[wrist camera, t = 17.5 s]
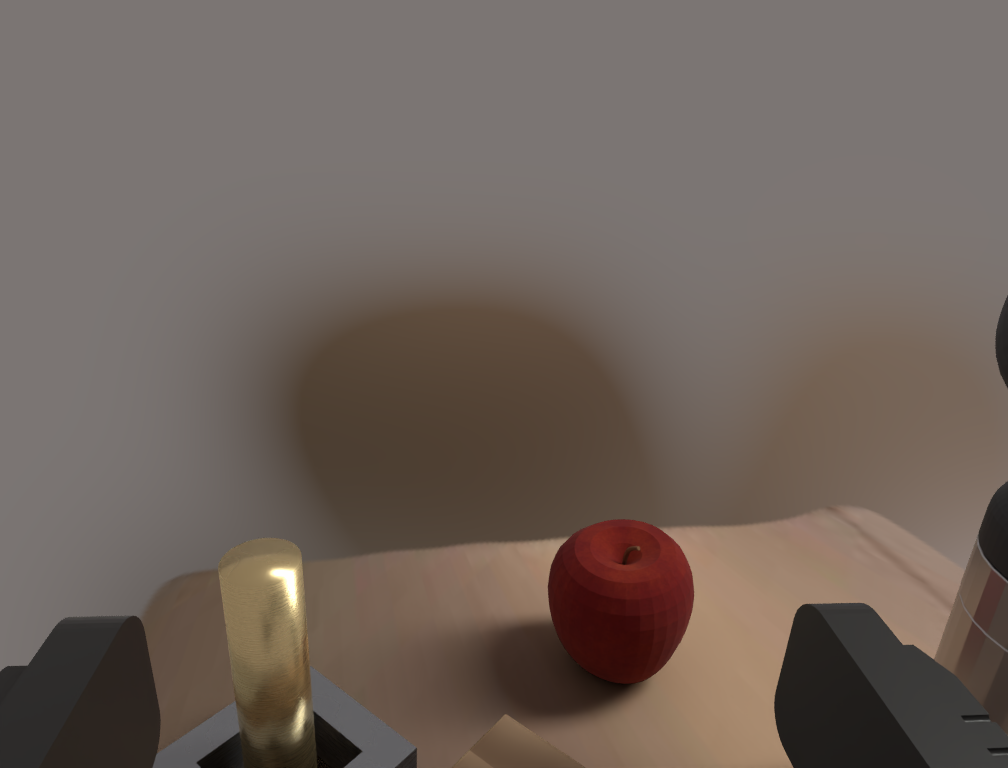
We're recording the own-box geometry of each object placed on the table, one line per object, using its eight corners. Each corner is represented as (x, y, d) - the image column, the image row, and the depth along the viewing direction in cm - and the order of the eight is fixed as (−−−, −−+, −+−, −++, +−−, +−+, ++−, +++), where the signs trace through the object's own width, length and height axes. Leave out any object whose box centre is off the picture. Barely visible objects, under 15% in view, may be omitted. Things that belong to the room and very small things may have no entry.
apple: (514, 663, 49) (522, 540, 46) (591, 595, 56) (603, 483, 52) (636, 741, 44) (657, 609, 40) (704, 654, 51) (728, 535, 47)
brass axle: (292, 764, 41) (270, 528, 35) (333, 801, 39) (317, 559, 33) (236, 808, 39) (202, 562, 33) (277, 851, 37) (248, 598, 31)
